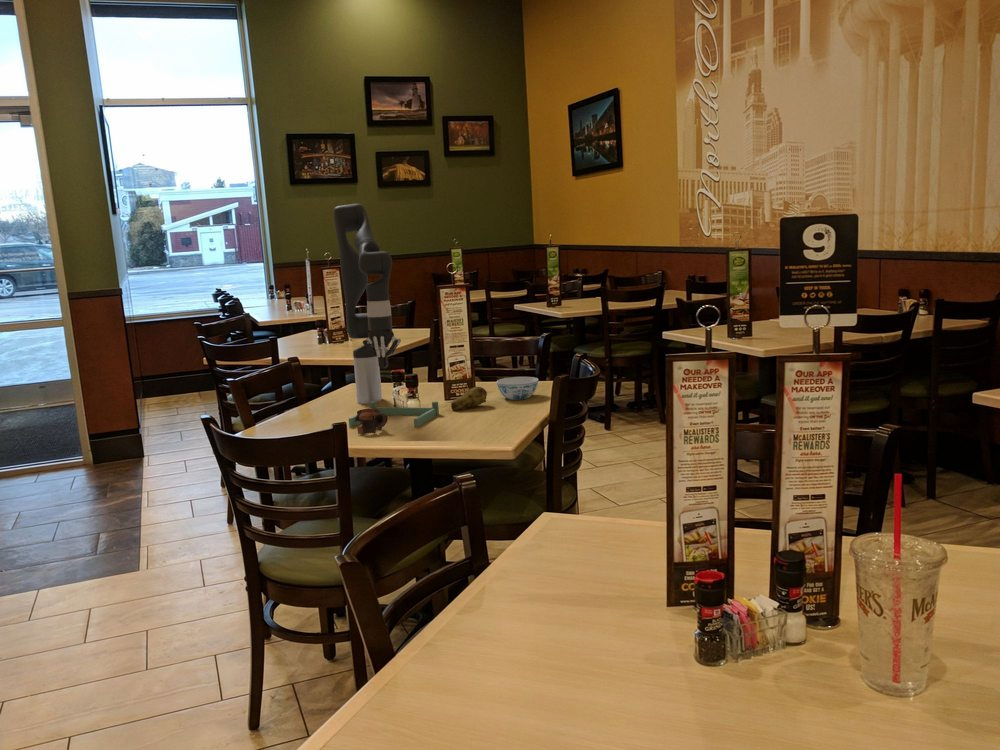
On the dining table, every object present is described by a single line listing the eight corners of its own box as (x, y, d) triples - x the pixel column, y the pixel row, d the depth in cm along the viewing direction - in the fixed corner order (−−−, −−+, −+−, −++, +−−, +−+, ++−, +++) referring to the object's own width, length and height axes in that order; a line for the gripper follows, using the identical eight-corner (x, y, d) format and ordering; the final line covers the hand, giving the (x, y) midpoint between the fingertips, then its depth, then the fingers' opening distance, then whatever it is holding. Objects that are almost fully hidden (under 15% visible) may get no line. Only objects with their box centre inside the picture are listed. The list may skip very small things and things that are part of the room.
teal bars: (372, 415, 290) (371, 401, 289) (439, 416, 282) (438, 401, 281) (348, 427, 272) (347, 412, 272) (418, 428, 265) (417, 412, 264)
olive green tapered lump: (450, 409, 292) (448, 387, 291) (486, 406, 294) (485, 384, 293) (452, 414, 284) (450, 391, 283) (489, 411, 286) (488, 388, 284)
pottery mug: (348, 435, 261) (348, 410, 263) (365, 442, 269) (365, 417, 272) (381, 428, 256) (380, 403, 259) (397, 435, 264) (396, 410, 267)
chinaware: (543, 397, 306) (542, 376, 304) (534, 405, 291) (533, 383, 290) (503, 397, 309) (502, 377, 308) (493, 405, 295) (491, 384, 294)
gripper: (403, 313, 268) (407, 366, 271) (365, 314, 272) (370, 366, 275) (393, 315, 261) (397, 370, 264) (355, 316, 265) (359, 370, 268)
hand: (383, 368), depth 270 cm, fingers closed
